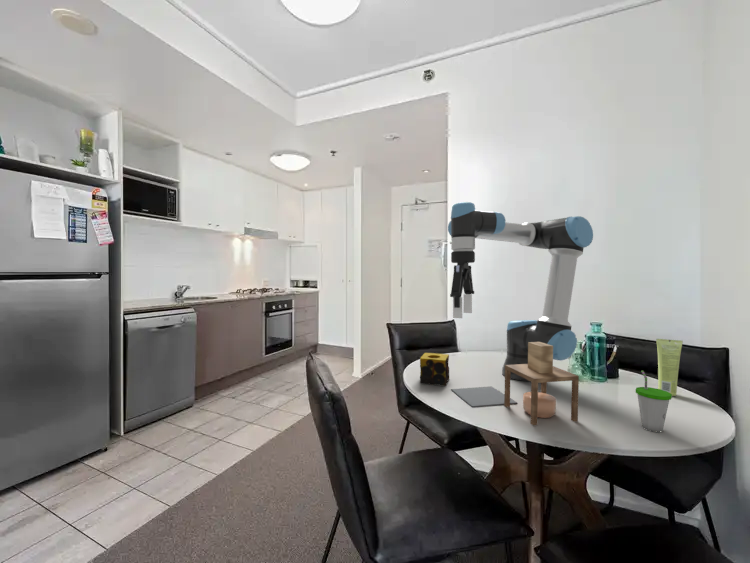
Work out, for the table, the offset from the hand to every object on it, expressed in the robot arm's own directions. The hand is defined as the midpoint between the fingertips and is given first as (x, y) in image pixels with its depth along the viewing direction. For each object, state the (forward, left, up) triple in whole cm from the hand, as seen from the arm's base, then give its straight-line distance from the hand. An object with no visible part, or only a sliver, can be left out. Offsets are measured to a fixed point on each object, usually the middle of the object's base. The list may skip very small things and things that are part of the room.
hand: (462, 315), depth 113 cm
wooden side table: (-19, +13, -29) cm, 37 cm away
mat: (-9, -3, -29) cm, 30 cm away
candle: (+1, -22, -29) cm, 36 cm away
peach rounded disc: (-19, +13, -29) cm, 37 cm away
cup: (-43, +28, -29) cm, 59 cm away
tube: (-75, +7, -29) cm, 81 cm away
